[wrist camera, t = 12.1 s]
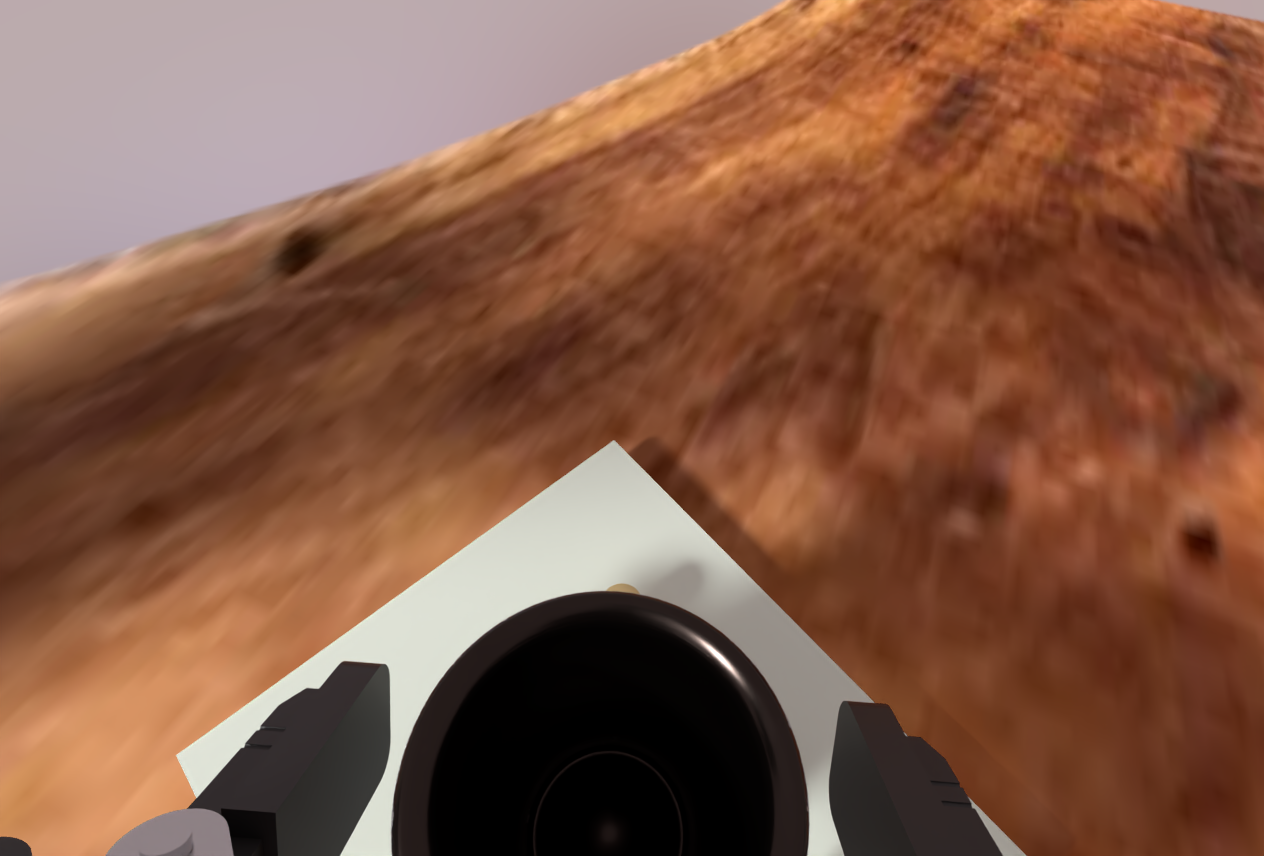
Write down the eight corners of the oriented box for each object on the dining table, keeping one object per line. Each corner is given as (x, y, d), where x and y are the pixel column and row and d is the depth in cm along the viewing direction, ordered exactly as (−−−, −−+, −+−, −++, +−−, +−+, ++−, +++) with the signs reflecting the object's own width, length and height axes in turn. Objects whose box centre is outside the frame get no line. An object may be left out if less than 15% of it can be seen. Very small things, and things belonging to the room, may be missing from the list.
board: (206, 763, 18) (113, 738, 15) (613, 463, 23) (613, 394, 20) (592, 1542, 12) (582, 1808, 9) (1034, 895, 17) (1138, 901, 14)
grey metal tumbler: (678, 988, 15) (772, 1156, 6) (478, 914, 15) (302, 969, 7) (724, 762, 17) (838, 647, 8) (550, 705, 18) (488, 545, 9)
